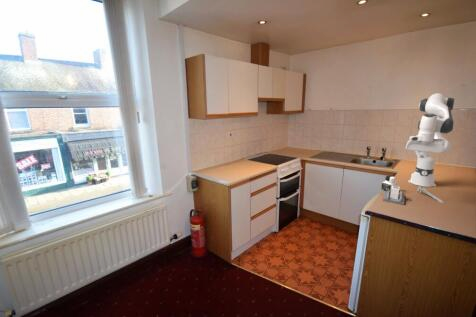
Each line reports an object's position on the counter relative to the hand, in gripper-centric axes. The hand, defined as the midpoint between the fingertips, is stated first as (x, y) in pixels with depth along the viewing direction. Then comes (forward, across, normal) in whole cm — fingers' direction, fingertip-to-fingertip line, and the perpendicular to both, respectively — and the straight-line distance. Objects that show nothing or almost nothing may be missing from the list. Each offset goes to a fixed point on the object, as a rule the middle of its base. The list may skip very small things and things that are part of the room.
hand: (421, 157), depth 158 cm
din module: (+28, +12, +12) cm, 33 cm away
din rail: (+28, +12, +12) cm, 33 cm away
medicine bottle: (+30, +16, -3) cm, 34 cm away
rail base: (+29, +12, +12) cm, 34 cm away
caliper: (+30, -9, -6) cm, 32 cm away
